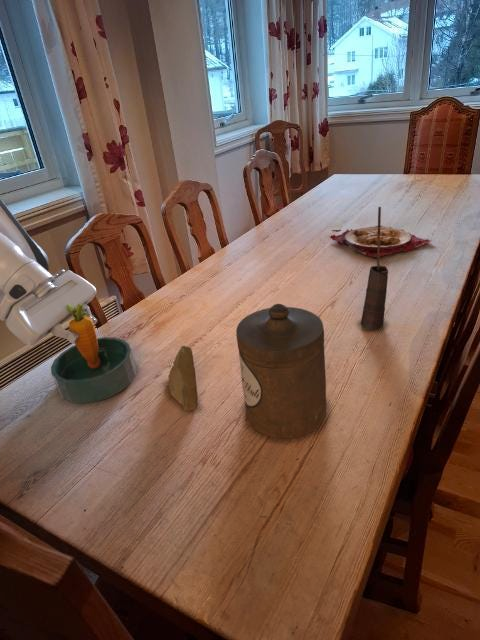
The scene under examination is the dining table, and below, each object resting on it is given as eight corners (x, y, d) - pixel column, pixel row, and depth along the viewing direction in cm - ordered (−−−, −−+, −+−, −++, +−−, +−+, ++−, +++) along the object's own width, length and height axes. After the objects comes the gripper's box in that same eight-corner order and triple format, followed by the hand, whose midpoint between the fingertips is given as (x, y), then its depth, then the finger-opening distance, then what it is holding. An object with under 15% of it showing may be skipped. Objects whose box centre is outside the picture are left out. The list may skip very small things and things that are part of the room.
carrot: (79, 365, 93) (57, 304, 86) (100, 355, 96) (81, 295, 88) (88, 374, 90) (66, 311, 82) (109, 363, 92) (90, 302, 85)
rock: (209, 404, 80) (216, 366, 88) (174, 378, 77) (185, 342, 85) (171, 426, 85) (181, 389, 93) (138, 403, 82) (151, 367, 90)
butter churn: (398, 338, 97) (409, 216, 83) (354, 337, 99) (358, 218, 85) (393, 317, 104) (403, 203, 91) (353, 317, 107) (356, 205, 93)
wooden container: (249, 385, 87) (238, 288, 77) (323, 384, 85) (322, 284, 74) (242, 439, 75) (227, 331, 64) (328, 439, 72) (328, 328, 62)
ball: (89, 373, 96) (86, 362, 95) (88, 366, 99) (84, 355, 97) (103, 369, 97) (99, 358, 96) (101, 362, 100) (98, 351, 98)
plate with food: (376, 262, 135) (377, 251, 133) (328, 239, 155) (328, 230, 154) (432, 245, 143) (434, 235, 142) (379, 226, 164) (380, 217, 162)
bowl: (61, 415, 85) (52, 392, 82) (58, 372, 99) (50, 351, 96) (143, 388, 90) (137, 365, 87) (129, 351, 104) (123, 330, 101)
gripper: (60, 275, 97) (107, 316, 99) (-11, 320, 80) (47, 368, 82) (70, 257, 93) (119, 299, 95) (-2, 300, 77) (59, 351, 78)
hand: (85, 332), depth 88 cm, fingers closed on carrot, 5 cm apart
